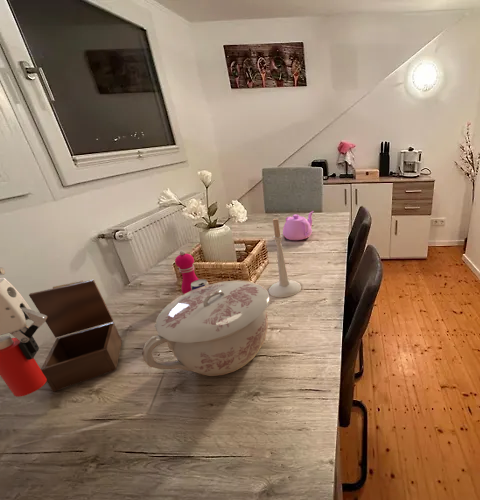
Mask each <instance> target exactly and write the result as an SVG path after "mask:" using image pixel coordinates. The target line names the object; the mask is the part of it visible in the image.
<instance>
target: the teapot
mask: <svg viewBox="0 0 480 500" xmlns="http://www.w3.org/2000/svg"><path fill="white" fill-rule="evenodd" d="M314 212H315V211H314V210H312V211H310V212H309V213H308V217H307V218H305V216H303V215H302V216H301V215H299V214H297V213H296V214H292V216H286V218H285V223H284V224H283V227H282V228H283V229H282V236H283V237H285V238H286V239H287V240H290V241H302V240H306V239H308V238H309V237H310V236H311V235H312V233H313V229H312V226H313V214H314Z"/></svg>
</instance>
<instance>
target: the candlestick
mask: <svg viewBox="0 0 480 500" xmlns="http://www.w3.org/2000/svg"><path fill="white" fill-rule="evenodd" d="M272 225H273V231H274V235H273V236H272V238H273V239H274V242H275V243H276V246H275V247H276V256H277V270H278V281H277V282H275V283H273V284H272V285H271V286H270V287H269V288H268V294H269V296H272V297H274V298H280V299H281V298H289V297H292V296H294V295H296V294H298V293H299V292H301V290H302V285H301V283H300V282H298V281H296V280H293V279H289V276H288V271H287V266H286V261H285V260H286V259H285V256H284V251H283V245H282V241H283V237H284V235H283V234H281V229H280V221H279V218H278V217H277V218H276V217H274V218H272Z"/></svg>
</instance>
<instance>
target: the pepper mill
mask: <svg viewBox="0 0 480 500" xmlns="http://www.w3.org/2000/svg"><path fill="white" fill-rule="evenodd" d="M174 261H175V262H174V263H175V266H176V267H178V270H179V273H181V276H182V281H181V289H180V290H181V293H182V295H184V294H186V293H188V292H190V291H192V289H191V283H192V282H194V281H196V280H200V279H199V278H198V277H197V275H196V273H195V265H194V263H195V259H194V256H193V255H192V254H190V253H186V251H185V250H182V249H181V250H180V251H179V255H177V256H176V257H175V259H174Z"/></svg>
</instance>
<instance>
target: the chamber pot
mask: <svg viewBox="0 0 480 500" xmlns="http://www.w3.org/2000/svg"><path fill="white" fill-rule="evenodd" d="M208 284H209V285H205V286H203V287H200V288H197V289H194V290H192V291H190V292H188V293H186V294H182V295H180V296H178V297H176V298H175V299H174V300H172V301H171V302H169V303H168V304H167V305H166V306H165V307H164V308H162V310H161V311H160V313H159V314H158V315H157V317H156V320H155V324H154V329H155V330H156V333H157V335H153V336H151V337H149V338H148V340H147V341H146V342H145V343H144V345H143V348H142V352H141V355H142V358H143V362H145V364H147V366H148V367H149V368H153V369H158V370H163V371H165V370H183V371H189V372H194V373H196V374H199V375H201V376H208V377H219V376H225V375H228V374H231V373H234V372H237V371H238V370H240V369H242V368H243V367H245V366H247V365H248V364H249V363H250V362H251V361H253V359H254V358H255V357H256V356H257V355H258V353H259V351H260V349H261V348H262V347H263V345H264V343H265V341H266V338H267V333H268V325H269V317H268V313H267V308H268V306H269V302H270V299H271V298H270V294H269V290H267V289H266V288H265V287H263V286H262V285H261V284H259V283H256V282H253V281H249V280H237V279H236V280H235V279H234V280H224V281H218V282H214V283H213V282H212V283H208ZM165 343H167V348H168V349H169V350H170V351H172V354H173V356H174V357H175V359H176V360H168V361H162V360H157V359H155V358H154V357H153V350H154V349H155V348H156V347H158V346H159V345H161V344H165Z"/></svg>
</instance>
